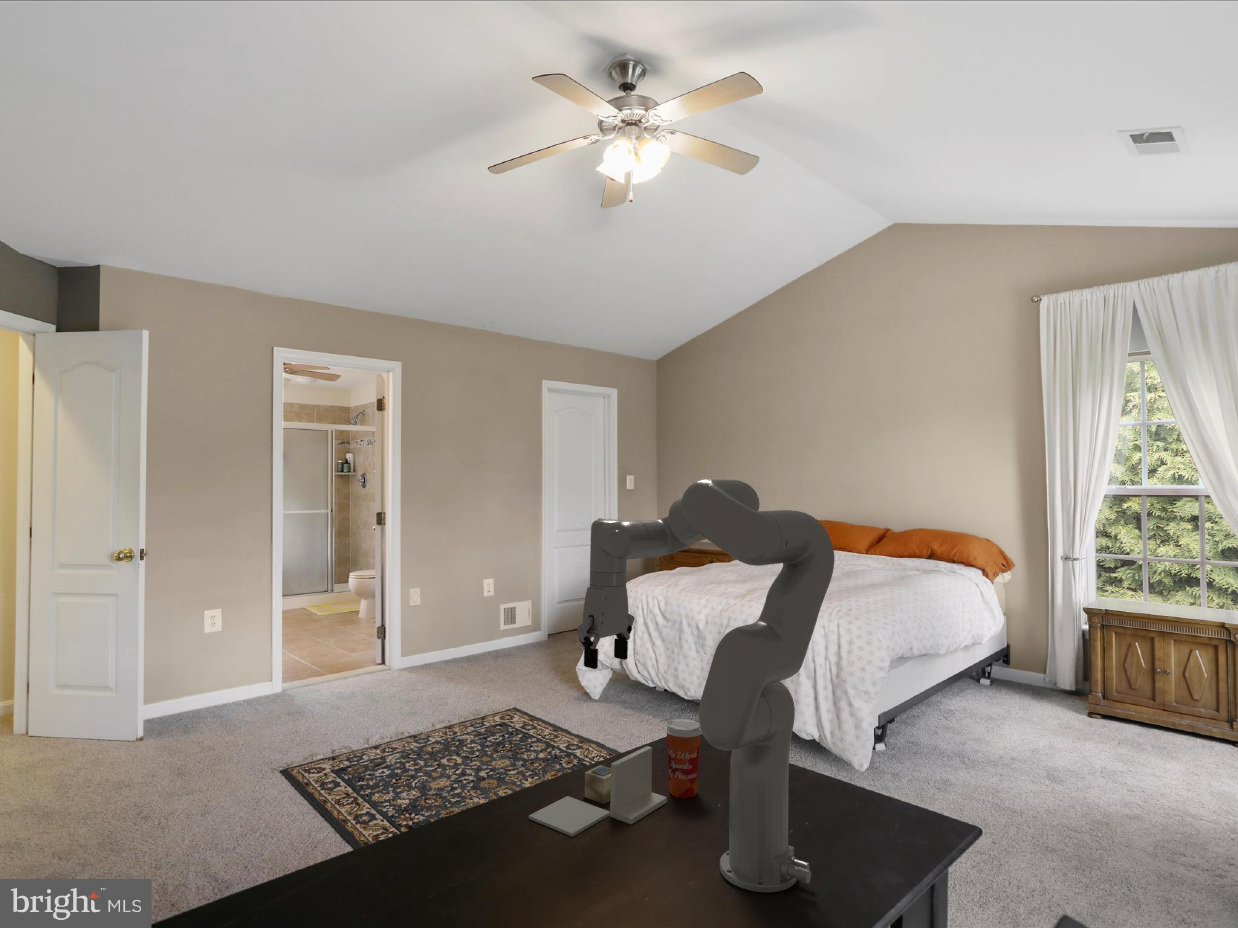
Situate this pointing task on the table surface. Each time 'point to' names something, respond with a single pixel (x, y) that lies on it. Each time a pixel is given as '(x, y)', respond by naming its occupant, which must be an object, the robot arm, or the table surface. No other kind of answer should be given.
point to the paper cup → (683, 756)
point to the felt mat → (569, 816)
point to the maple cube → (598, 784)
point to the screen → (633, 787)
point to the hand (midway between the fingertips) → (606, 662)
